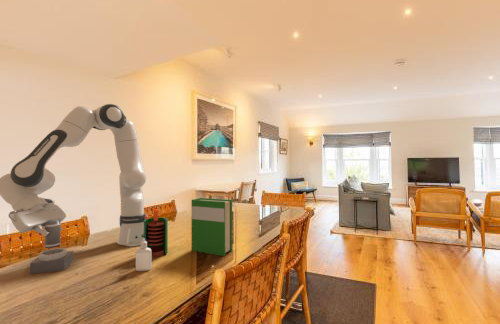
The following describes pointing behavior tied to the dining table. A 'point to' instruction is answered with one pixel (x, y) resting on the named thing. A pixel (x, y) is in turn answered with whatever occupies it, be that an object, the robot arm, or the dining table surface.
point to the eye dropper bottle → (143, 257)
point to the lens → (52, 233)
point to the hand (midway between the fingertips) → (54, 232)
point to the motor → (156, 234)
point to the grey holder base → (52, 261)
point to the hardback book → (212, 225)
